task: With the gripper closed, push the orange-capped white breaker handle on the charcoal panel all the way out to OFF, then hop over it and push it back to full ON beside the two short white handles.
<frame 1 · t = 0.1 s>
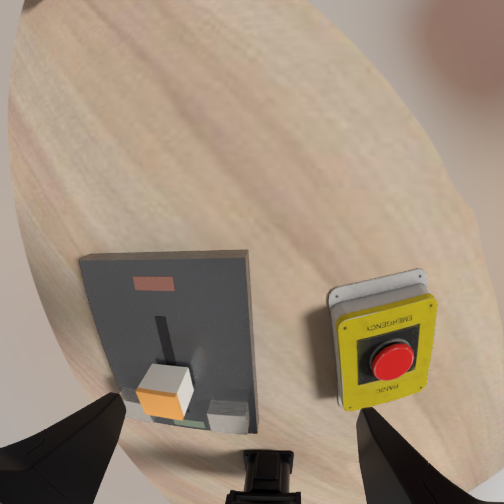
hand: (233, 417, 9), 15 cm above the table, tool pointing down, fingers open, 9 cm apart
emergency button: (379, 344, 24), on the table
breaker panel: (177, 350, 26), on the table
tripped breaker: (166, 391, 22), point 4 cm above the table, slide at 4.5 cm
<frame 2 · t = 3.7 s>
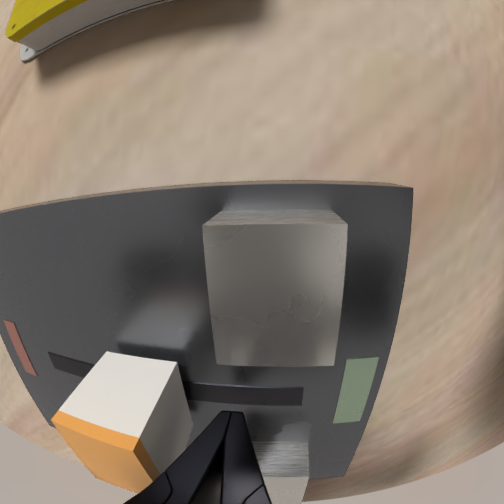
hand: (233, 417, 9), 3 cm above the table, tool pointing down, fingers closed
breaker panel: (148, 354, 12), on the table
tripped breaker: (131, 426, 8), point 4 cm above the table, slide at 4.9 cm, touching gripper
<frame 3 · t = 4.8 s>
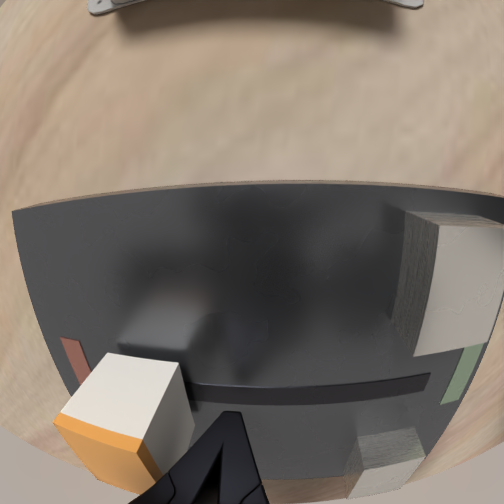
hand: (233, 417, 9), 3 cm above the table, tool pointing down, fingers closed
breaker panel: (260, 363, 12), on the table
tripped breaker: (133, 428, 8), point 4 cm above the table, slide at 10.1 cm, touching gripper
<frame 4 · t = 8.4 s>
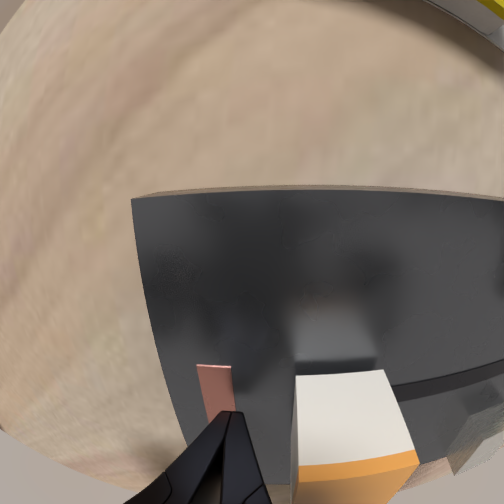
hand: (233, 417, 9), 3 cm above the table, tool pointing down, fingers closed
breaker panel: (405, 361, 11), on the table
tripped breaker: (340, 451, 7), point 4 cm above the table, slide at 9.7 cm, touching gripper
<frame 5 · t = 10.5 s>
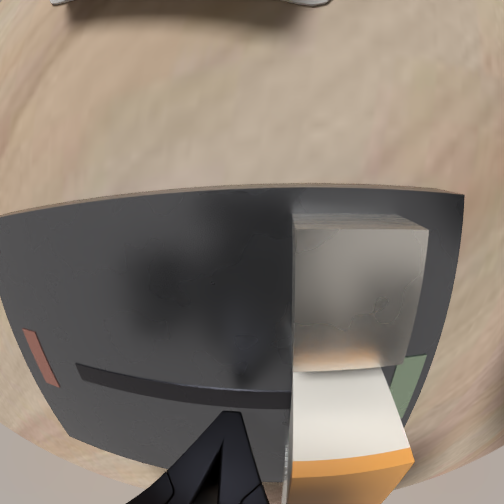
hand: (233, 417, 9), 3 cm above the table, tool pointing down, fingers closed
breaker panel: (187, 362, 12), on the table
tripped breaker: (337, 448, 7), point 4 cm above the table, slide at -0.1 cm, touching gripper
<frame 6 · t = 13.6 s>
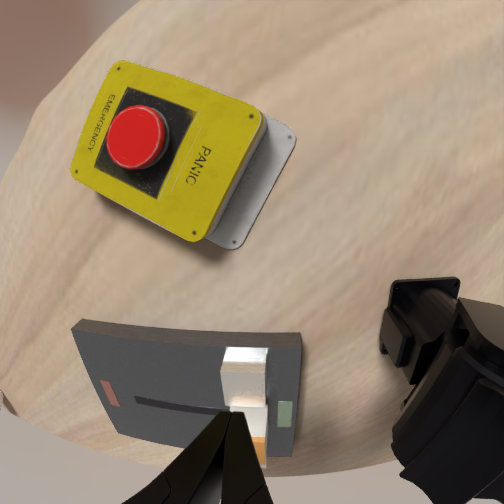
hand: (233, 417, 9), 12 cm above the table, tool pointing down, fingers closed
emergency button: (173, 147, 19), on the table
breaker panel: (189, 393, 24), on the table
tripped breaker: (247, 434, 19), point 4 cm above the table, slide at -0.1 cm
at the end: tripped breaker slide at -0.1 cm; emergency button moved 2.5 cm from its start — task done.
